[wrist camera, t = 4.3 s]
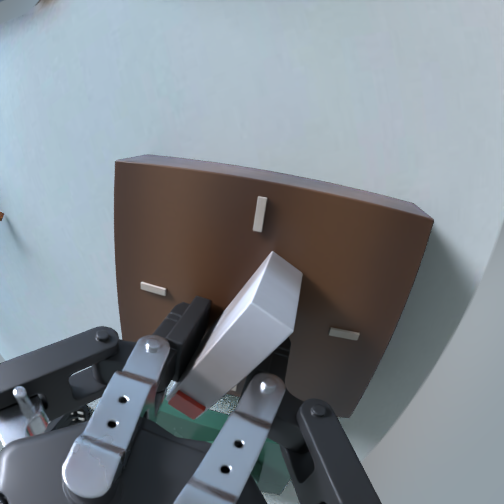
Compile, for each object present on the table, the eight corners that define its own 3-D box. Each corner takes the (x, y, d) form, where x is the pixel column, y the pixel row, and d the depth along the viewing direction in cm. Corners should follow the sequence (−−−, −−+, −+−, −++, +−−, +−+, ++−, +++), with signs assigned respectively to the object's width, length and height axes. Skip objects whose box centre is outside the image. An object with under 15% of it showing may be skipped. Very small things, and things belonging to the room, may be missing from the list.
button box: (310, 432, 21) (305, 468, 17) (282, 481, 25) (277, 509, 21) (162, 394, 22) (144, 424, 19) (168, 451, 26) (156, 476, 23)
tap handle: (272, 250, 13) (248, 305, 9) (303, 272, 13) (293, 336, 9) (198, 342, 15) (162, 403, 11) (223, 359, 15) (194, 423, 11)
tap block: (414, 203, 14) (436, 220, 11) (348, 384, 18) (349, 420, 15) (147, 154, 16) (112, 160, 13) (146, 334, 20) (123, 361, 17)
